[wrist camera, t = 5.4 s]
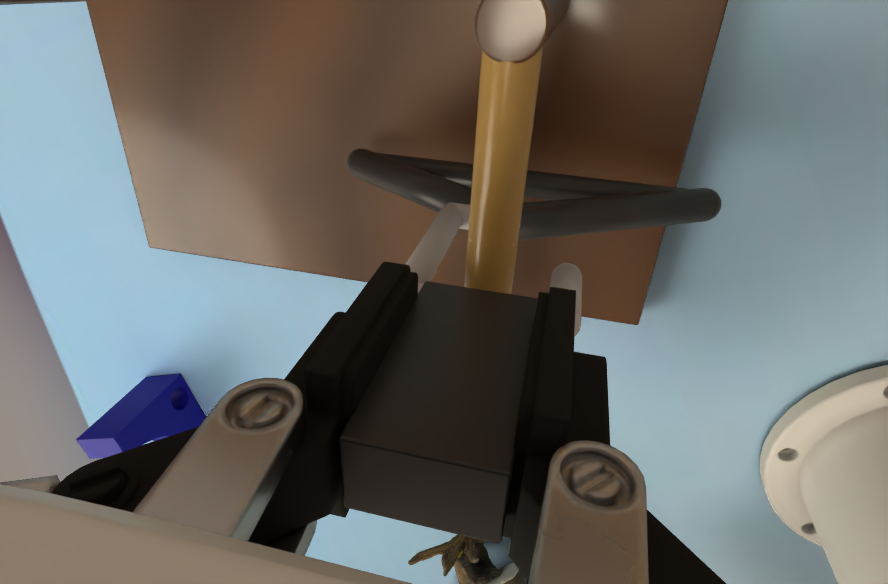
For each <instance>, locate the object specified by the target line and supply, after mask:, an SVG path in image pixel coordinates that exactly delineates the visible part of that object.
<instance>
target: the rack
mask: <svg viewBox="0 0 888 584" xmlns="http://www.w3.org/2000/svg"><path fill="white" fill-rule="evenodd" d="M80 1H86V2H87V6H88V10H89V14H90V18H91V22H92V26H93V30H94V33H95V37H96V41H97V45H98V49H99V53H100V57H101V61H102V65H103V69H104V72H105V76H106V80H107V84H108V88H109V92H110V96H111V100H112V104H113V107H114V111H115V115H116V119H117V123H118V127H119V131H120V135H121V139H122V143H123V146H124V150H125V154H126V158H127V162H128V166H129V170H130V174H131V178H132V182H133V185H134V189H135V193H136V197H137V201H138V205H139V209H140V213H141V217H142V220H143V224H144V228H145V232H146V236H147V240H148V244H149V247H151V248H157V249H163V250H169V251H176V252H182V253H188V254H194V255H201V256H207V257H213V258H219V259H226V260H232V261H238V262H244V263H251V264H257V265H263V266H269V267H276V268H282V269H288V270H295V271H301V272H307V273H313V274H320V275H326V276H332V277H338V278H345V279H351V280H357V281H363V282H369V280H370V279H371V278H372V276H373V275H374V273H375V272H376V271H377V269H378V268H379V267H380V265H381V264H382V263H383V262H384V261H386V262H392V263H399V264H406V263H407V261H408V259H409V258H410V256H411V255H412V253H413V252H414V250H415V249H416V247H417V246H418V244H419V243H420V241H421V239H422V238H423V236H424V235H425V233H426V232H427V230H428V229H429V227H430V226H431V224H432V223H433V221H434V219H435V218H436V216H437V215H438V212H436V211H433V210H431V209H429V208H426V207H424V206H422V205H419V204H417V203H415V202H412V201H410V200H408V199H405V198H403V197H401V196H398V195H396V194H394V193H391V192H389V191H386V190H384V189H382V188H379V187H377V186H375V185H372V184H370V183H368V182H365V181H363V180H361V179H358V178H356V177H354V176H353V175H352V174H351V173H350V172H349V170H348V167H347V159H348V157H349V155H350V153H351V152H352V151H354V150H356V149H360V148H363V149H367V150H370V151H373V152H376V153H384V154H393V155H402V156H410V157H419V158H427V159H436V160H445V161H453V162H462V163H470V164H473V176H472V189H471V202H470V216H469V229H468V230H467V229H460V228H459V229H458V231H457V233H456V235H455V237H454V239H453V241H452V242H451V244H450V246H449V248H448V250H447V252H446V254H445V256H444V258H443V259H442V261H441V263H440V265H439V267H438V269H437V271H436V273H435V275H434V277H433V278H432V280H431V282H437V283H443V284H449V285H456V286H462V287H469V288H475V289H481V290H488V291H494V292H500V293H507V294H513V295H520V296H526V297H532V298H538V295H539V292H545V293H549V290H550V282H551V275H552V272H553V270H554V269H555V268H556V267H557V266H558V265H560V264H563V263H570V264H573V265H575V266H577V267H578V268H579V270H580V271H581V274H582V306H581V316H582V317H589V318H595V319H601V320H608V321H614V322H620V323H626V324H633V325H638V324H639V321H640V317H641V314H642V310H643V307H644V303H645V299H646V296H647V292H648V288H649V285H650V281H651V278H652V274H653V270H654V267H655V263H656V260H657V256H658V252H659V249H660V245H661V242H662V238H663V234H664V231H665V227H666V225H665V226H655V227H645V228H636V229H626V230H617V231H607V232H598V233H588V234H578V235H569V236H559V237H550V238H540V239H531V240H521V241H518V240H519V232H520V224H521V216H522V208H523V203H525V202H537V201H549V200H547V199H539V198H531V197H524V193H525V185H526V177H527V170H531V171H539V172H548V173H557V174H565V175H574V176H582V177H591V178H600V179H608V180H617V181H625V182H634V183H643V184H651V185H660V186H668V187H677V184H678V180H679V177H680V173H681V169H682V166H683V162H684V159H685V155H686V151H687V148H688V144H689V140H690V137H691V133H692V130H693V126H694V122H695V119H696V115H697V112H698V108H699V104H700V101H701V97H702V94H703V90H704V86H705V83H706V79H707V75H708V72H709V68H710V65H711V61H712V57H713V54H714V50H715V47H716V43H717V39H718V36H719V32H720V29H721V25H722V21H723V18H724V14H725V11H726V7H727V3H728V0H0V5H9V4H33V3H56V2H80Z"/></svg>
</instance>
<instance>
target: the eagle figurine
mask: <svg viewBox="0 0 888 584" xmlns="http://www.w3.org/2000/svg"><path fill="white" fill-rule="evenodd" d="M485 542H487V541H484V540H480V539H476V538H472V537H468V536H463V535H459V534H458V535H457V536H455V537H453V538H452V539H451V540H450V541H449V542H445V543H443V544H441V545H438V546H435V547H432V548H429V549H427V550H424V551H421V552H419V553H417V554H416V555H415V556H414V557H413V558H412V559H411V560H409V562H408V564H409V565H413V564H415V563H417V562H419V561H423V560H426V559H429V558H431V557H433V556H435V555H438V554H443V556H442V565H443V569H444V574H443V575H444V576H446V575H447V574H448V572H449V571H450V569H451V568H452V567H453V566H454V567H455V571H456V574H457V578H458V581H459V584H525V580H524V579H525V577H524V575H523V574H522V573H521V571H520V570H519V569H518V568H517V566H516V565H515V564H514V562H513V563H511V564H508V565H507V566H505V567H503V568H501V569H498V568H496V567H495V566H494V565H493V564H492V562H491V560H490V559H489V557H488V553H487V550H486V548H485V546H484V545H483V543H485Z"/></svg>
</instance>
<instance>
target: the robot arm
mask: <svg viewBox="0 0 888 584" xmlns="http://www.w3.org/2000/svg"><path fill="white" fill-rule="evenodd" d="M417 296H418V274H417V273H415V272H411V270H410V266H409V265H406V264H399V263H392V262H386V261H384V262H383V263H382V264H381V265H380V267H379V268H378V269H377V271H376V272H375V273H374V275H373V276H372V278H371V279H370V280H369V282H368V283H367V284H366V286H365V287H364V289H363V290H362V291H361V293H360V294H359V295H358V297H357V298H356V299H355V301H354V302H353V304H352V305H351V306H350V308H349V309H348V310H347V312H346V313H345V312H336V313H335V314H334V315H333V316H332V318H331V319H330V320H329V321H328V323H327V324H326V325H325V327H324V328H323V329H322V331H321V332H320V333H319V335H318V336H317V337H316V339H315V340H314V341H313V342H312V344H311V345H310V346H309V348H308V349H307V350H306V352H305V353H304V354H303V356H302V357H301V358H300V359H299V361H298V362H297V363H296V365H295V366H294V367H293V369H292V370H291V371H290V373H289V374H288V375H287V377H286V378H285V379H284V380H282V379H279V378H261V379H255V380H251V381H248V382H245V383H242V384H240V385H238V386H236V387H235V388H233V389H231V390H230V391H228V392H227V393H226V394H225V395H224V396H223V397H222V398H221V399H220V401H219V402H218V403H217V404H216V406H215V407H214V408H213V410H212V411H211V412H210V413H209V415H208V416H207V417H206V419H205V420H204V421H203V422H202V424H201V425H200V426H199V427H196V428H193V429H190V430H187V431H184V432H181V433H178V434H175V435H172V436H169V437H166V438H163V439H160V440H157V441H154V442H151V443H148V444H145V445H142V446H139V447H136V448H133V449H130V450H127V451H124V452H121V453H118V454H115V455H112V456H109V457H106V458H103V459H100V460H97V461H94V462H92V463H90V464H87V465H85V466H83V467H81V468H79V469H78V470H76V471H74V472H73V473H71V474H70V475H68V476H67V477H66V478H65V479H64V480H63V481H61V482H60V481H59V479H58V477H57V475H55V476H48V477H39V478H32V479H25V480H17V481H9V482H1V483H0V584H411V583H407V582H404V581H400V580H396V579H392V578H388V577H384V576H380V575H376V574H373V573H369V572H365V571H361V570H357V569H353V568H349V567H345V566H342V565H338V564H334V563H330V562H326V561H322V560H318V559H314V558H310V557H307V556H305V554H306V552H307V549H308V547H309V545H310V542H311V540H312V538H313V535H314V533H315V529H316V525H317V520H318V519H320V518H322V517H325V516H327V515H329V514H332V515H336V516H341V517H346V515H347V513H348V511H349V508H346V507H345V506H344V498H343V484H342V470H341V456H340V442H339V437H340V435H341V433H342V432H343V430H344V428H345V426H346V424H347V423H348V421H349V419H350V417H351V415H353V414H354V412H355V411H356V409H357V407H358V405H359V403H360V401H361V399H362V398H363V396H364V394H365V392H366V390H367V388H368V387H369V385H370V383H371V381H372V379H373V377H374V376H375V374H376V372H377V370H378V368H379V366H380V365H381V363H382V361H383V359H384V357H385V355H386V354H387V352H388V350H389V348H390V346H391V344H392V342H393V341H394V339H395V337H396V335H397V333H398V331H399V330H400V328H401V326H402V324H403V322H404V320H405V319H406V317H407V315H408V313H409V311H410V309H411V308H412V306H413V304H414V302H415V300H416V298H417ZM575 309H576V290H570V289H564V288H557V287H551V286H550V290H549V293H545V292H539V295H538V301H537V307H536V313H535V319H534V325H533V331H532V337H531V343H530V349H529V355H528V362H527V368H526V374H525V380H524V386H523V392H522V398H521V404H520V410H519V417H518V423H517V429H516V436H515V442H514V448H515V449H516V455H515V462H514V468H513V475H512V481H511V487H510V493H509V499H508V506H507V512H506V518H505V524H504V530H503V536H505V537H509V538H511V544H510V551H509V557H510V558H511V560H512V561H513V562H514V564H515V565H516V566H517V568H518V569H519V570H520V571H521V573H522V574H523V575H524V577H525V578H526V581H525V584H726V583H725V582H724V581H723V580H722V579H721V578H720V577H718V576H717V575H716V574H715V573H714V572H713V571H712V570H711V569H710V568H709V567H708V566H707V565H706V564H705V563H703V562H702V561H701V560H700V559H699V558H698V557H697V556H696V555H695V554H694V553H693V552H692V551H691V550H690V549H689V548H687V547H686V546H685V545H684V544H683V543H682V542H681V541H680V540H679V539H678V538H677V537H676V536H675V535H674V534H672V533H671V532H670V531H669V530H668V529H667V528H666V527H665V526H664V525H663V524H662V523H661V522H660V521H659V520H657V519H656V518H655V517H654V516H653V515H652V514H651V513H650V512H649V511H648V510H647V504H646V485H645V481H644V477H643V475H642V473H641V471H640V470H639V468H638V466H637V465H636V464H635V463H634V462H633V461H632V460H631V459H630V458H629V457H628V456H627V455H626V454H624V453H622V452H621V451H619V450H618V449H616V448H614V447H612V446H610V432H609V408H608V385H607V363H606V358H605V357H601V356H596V355H590V354H584V353H578V352H574V331H575ZM760 477H761V480H762V483H763V486H764V490H765V493H766V496H767V498H768V500H769V502H770V504H771V506H772V508H773V510H774V511H775V513H776V514H777V515H778V516H779V517H780V518H781V520H782V521H783V522H784V523H785V524H786V525H787V526H788V527H790V528H791V529H792V530H793V531H795V532H796V533H797V534H799V535H800V536H802V537H804V538H806V539H808V540H809V541H811V542H813V543H815V544H817V545H819V546H821V547H823V549H824V551H825V554H826V556H827V559H828V561H829V563H830V566H831V568H832V571H833V573H834V576H835V578H836V580H837V583H838V584H888V365H884V366H880V367H876V368H871V369H867V370H863V371H859V372H856V373H854V374H851V375H848V376H846V377H843V378H840V379H838V380H835V381H832V382H830V383H829V384H827V385H825V386H823V387H821V388H819V389H817V390H816V391H814V392H812V393H810V394H808V395H807V396H805V397H804V398H803V399H801V400H800V401H799V402H798V403H796V404H795V405H794V406H792V407H791V408H790V409H788V410H787V411H786V413H785V414H784V415H783V416H782V417H781V418H780V419H779V420H778V421H777V423H776V424H775V425H774V426H773V428H772V429H771V431H770V433H769V435H768V436H767V438H766V440H765V442H764V444H763V448H762V452H761V456H760Z"/></svg>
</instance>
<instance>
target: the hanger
mask: <svg viewBox="0 0 888 584" xmlns="http://www.w3.org/2000/svg"><path fill="white" fill-rule="evenodd" d="M347 167H348V170H349V172H350V173H351V174H352V175H353V176H354V177H356V178H358V179H361V180H363V181H365V182H368V183H370V184H372V185H375V186H377V187H379V188H382V189H384V190H386V191H389V192H391V193H394V194H396V195H398V196H401V197H403V198H405V199H408V200H410V201H412V202H415V203H417V204H419V205H422V206H424V207H426V208H429V209H431V210H433V211H436V212H438V215H437V216H436V218H435V219H434V221H433V223H432V224H431V226H430V227H429V229H428V230H427V232H426V233H425V235H424V236H423V238H422V239H421V241H420V243H419V244H418V246H417V247H416V249H415V250H414V252H413V253H412V255H411V256H410V258H409V259H408V261H407V263H406V265H409V266H410V270H411V272H415V273H417V274H418V296H417V298H416V300H415V302H414V304H413V306H412V308H411V309H410V311H409V313H408V315H407V317H406V319H405V320H404V322H403V324H402V326H401V328H400V330H399V331H398V333H397V335H396V337H395V339H394V341H393V342H392V344H391V346H390V348H389V350H388V352H387V354H386V355H385V357H384V359H383V361H382V363H381V365H380V366H379V368H378V370H377V372H376V374H375V376H374V377H373V379H372V381H371V383H370V385H369V387H368V388H367V390H366V392H365V394H364V396H363V398H362V399H361V401H360V403H359V405H358V407H357V409H356V411H355V412H354V414H353V415H351V417H350V419H349V421H348V423H347V424H346V426H345V428H344V430H343V432H342V433H341V435H340V437H339V442H340V456H341V470H342V484H343V498H344V506H345V507H346V508H350V509H354V510H359V511H363V512H367V513H371V514H375V515H380V516H384V517H388V518H392V519H396V520H401V521H405V522H409V523H413V524H417V525H422V526H426V527H430V528H434V529H438V530H442V531H447V532H451V533H455V534H459V535H463V536H468V537H472V538H476V539H480V540H484V541H489V542H493V543H500V542H501V541H502V537H503V530H504V524H505V518H506V512H507V506H508V499H509V493H510V487H511V481H512V475H513V468H514V462H515V455H516V449H515V448H514V442H515V436H516V429H517V423H518V417H519V410H520V404H521V398H522V392H523V386H524V380H525V374H526V368H527V362H528V355H529V349H530V343H531V337H532V331H533V325H534V319H535V313H536V307H537V301H538V298H532V297H526V296H520V295H513V294H507V293H500V292H494V291H488V290H481V289H475V288H469V287H462V286H456V285H449V284H443V283H437V282H431V280H432V278H433V277H434V275H435V273H436V271H437V269H438V267H439V265H440V263H441V261H442V259H443V258H444V256H445V254H446V252H447V250H448V248H449V246H450V244H451V242H452V241H453V239H454V237H455V235H456V233H457V231H458V229H459V228H460V229H467V230H468V229H469V216H470V202H471V189H472V176H473V164H470V163H462V162H453V161H445V160H436V159H427V158H419V157H410V156H402V155H393V154H384V153H376V152H373V151H370V150H367V149H363V148H360V149H356V150H354V151H352V152H351V153H350V155H349V157H348V159H347ZM524 197H531V198H539V199H547V200H549V201H537V202H525V203H523V208H522V216H521V224H520V232H519V240H518V241H521V240H531V239H540V238H550V237H559V236H569V235H578V234H588V233H598V232H607V231H617V230H626V229H636V228H645V227H655V226H665V225H674V224H684V223H693V222H703V221H708V220H710V219H712V218H714V217H715V216H716V215H717V214H718V213H719V211H720V209H721V199H720V196H719V195H718V194H717V193H716V192H715V191H714V190H712V189H709V188H696V189H686V188H677V187H668V186H660V185H651V184H643V183H634V182H625V181H617V180H608V179H600V178H591V177H582V176H574V175H565V174H557V173H548V172H539V171H531V170H527V177H526V185H525V193H524ZM550 286H551V287H557V288H564V289H570V290H576V309H575V331H574V336H576V335H577V333H578V332H579V330H580V327H581V306H582V274H581V271H580V270H579V268H578V267H577V266H575V265H573V264H570V263H563V264H560V265H558V266H557V267H556V268H555V269H554V270H553V272H552V275H551V282H550Z"/></svg>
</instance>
